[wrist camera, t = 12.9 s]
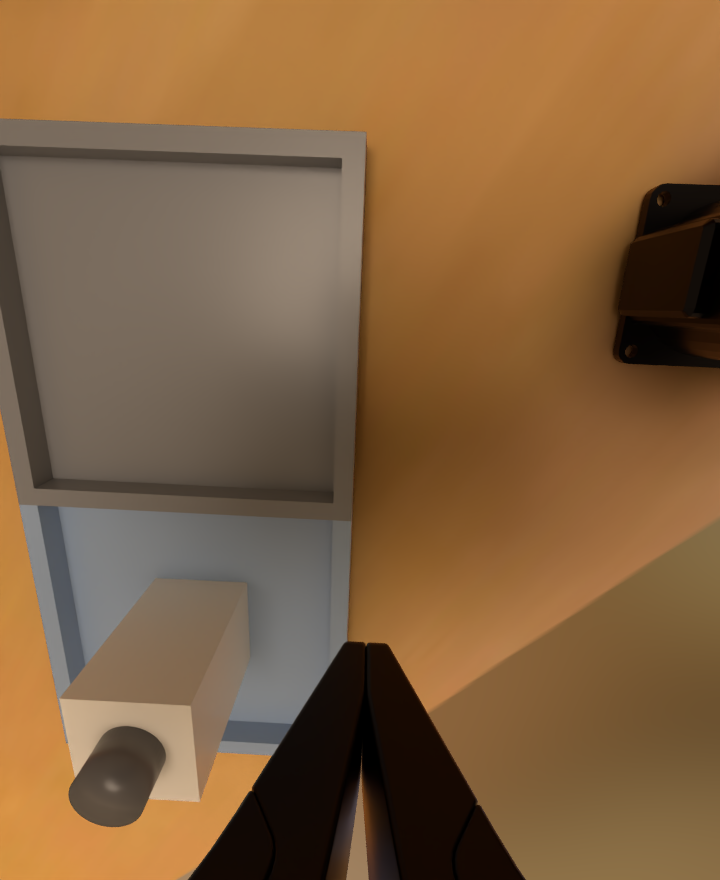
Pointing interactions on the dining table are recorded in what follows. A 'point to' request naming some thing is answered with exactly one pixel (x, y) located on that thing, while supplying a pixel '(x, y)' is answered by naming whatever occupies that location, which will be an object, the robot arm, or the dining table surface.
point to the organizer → (185, 383)
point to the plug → (156, 699)
